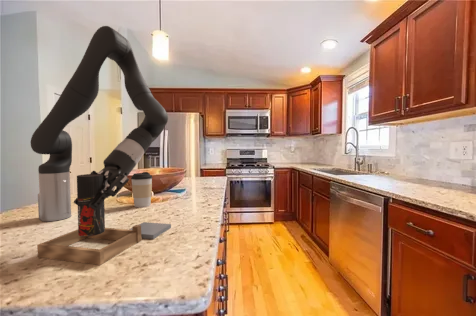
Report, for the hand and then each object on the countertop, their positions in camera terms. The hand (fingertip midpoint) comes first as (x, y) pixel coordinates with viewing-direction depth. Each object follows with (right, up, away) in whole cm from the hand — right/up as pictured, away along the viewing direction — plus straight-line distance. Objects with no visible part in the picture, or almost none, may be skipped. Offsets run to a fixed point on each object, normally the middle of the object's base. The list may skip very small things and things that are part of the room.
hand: (84, 206), depth 60 cm
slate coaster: (+11, -11, +14) cm, 21 cm away
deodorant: (+1, -7, +2) cm, 8 cm away
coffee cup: (-5, -10, +48) cm, 49 cm away
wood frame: (+1, -11, +2) cm, 12 cm away
